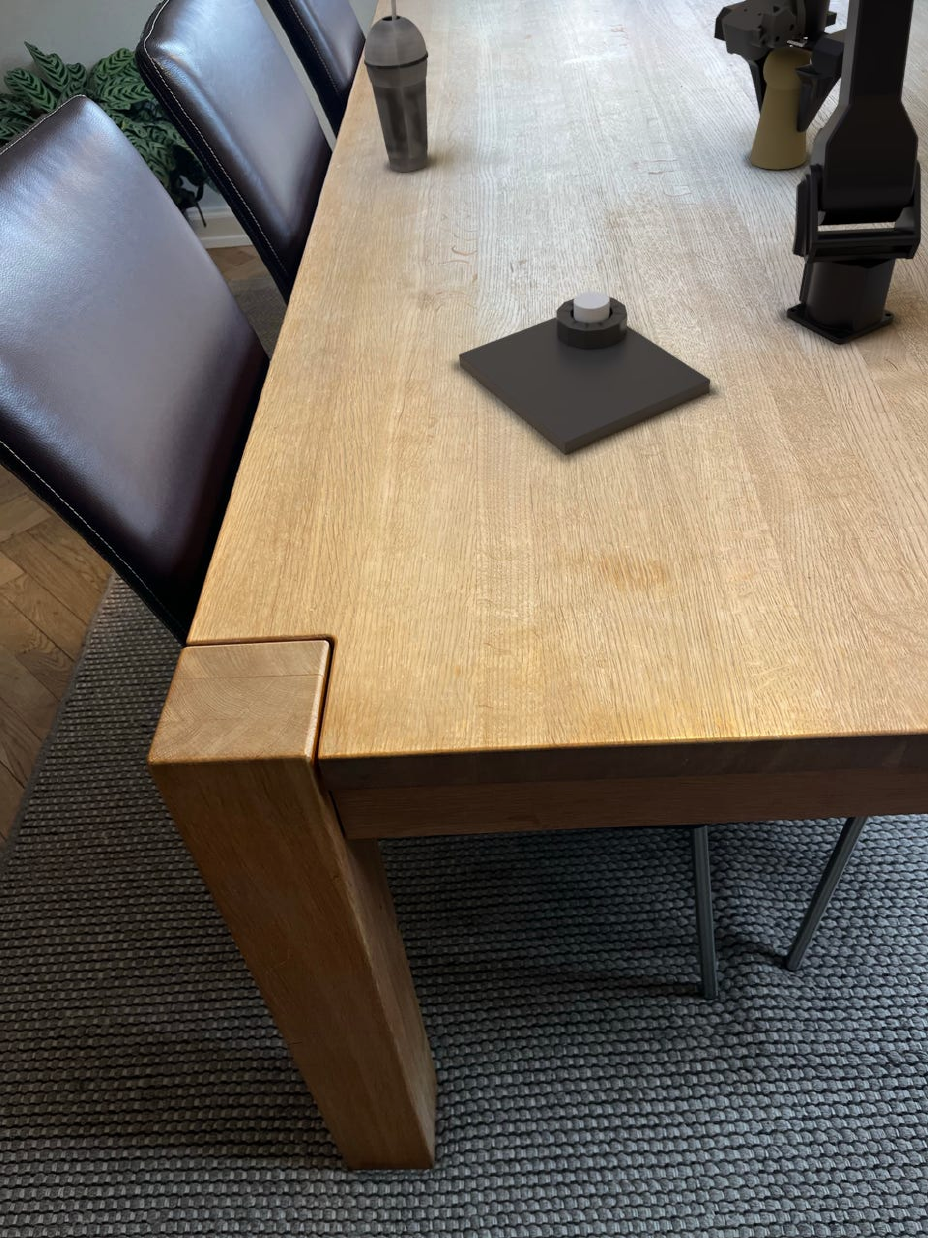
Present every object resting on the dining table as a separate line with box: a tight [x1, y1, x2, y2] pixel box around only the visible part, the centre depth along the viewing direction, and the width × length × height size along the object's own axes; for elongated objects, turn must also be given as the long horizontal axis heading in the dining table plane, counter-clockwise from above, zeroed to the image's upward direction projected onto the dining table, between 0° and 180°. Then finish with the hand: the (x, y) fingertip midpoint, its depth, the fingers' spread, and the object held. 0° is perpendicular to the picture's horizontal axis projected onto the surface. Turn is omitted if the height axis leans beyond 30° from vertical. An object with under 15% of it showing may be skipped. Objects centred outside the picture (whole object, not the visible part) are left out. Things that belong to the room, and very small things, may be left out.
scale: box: [458, 296, 711, 456], centre depth 80 cm, size 16×14×3 cm
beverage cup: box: [363, 0, 429, 173], centre depth 109 cm, size 7×7×20 cm
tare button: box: [573, 290, 610, 323], centre depth 82 cm, size 3×3×2 cm
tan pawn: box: [749, 45, 812, 170], centre depth 104 cm, size 6×6×11 cm
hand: (782, 123), depth 106 cm, fingers closed on tan pawn, 5 cm apart
